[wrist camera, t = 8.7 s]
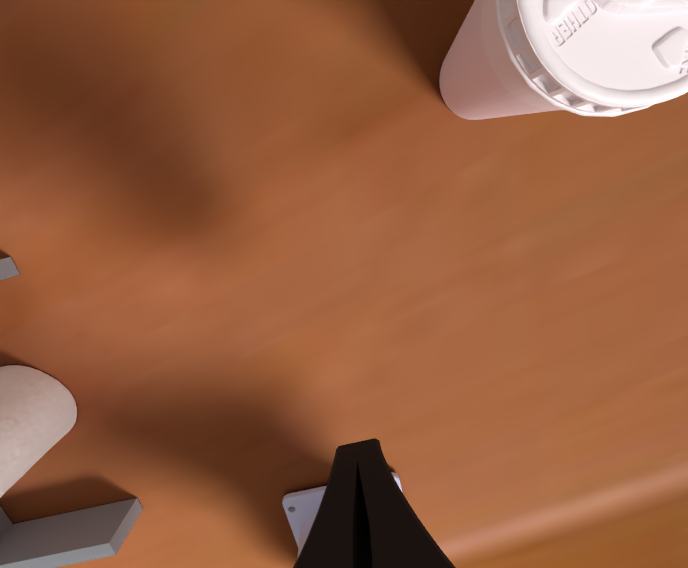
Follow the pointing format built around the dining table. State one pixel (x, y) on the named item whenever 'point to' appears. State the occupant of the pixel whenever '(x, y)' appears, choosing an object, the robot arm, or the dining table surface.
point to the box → (64, 524)
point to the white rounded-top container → (30, 419)
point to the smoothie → (566, 57)
